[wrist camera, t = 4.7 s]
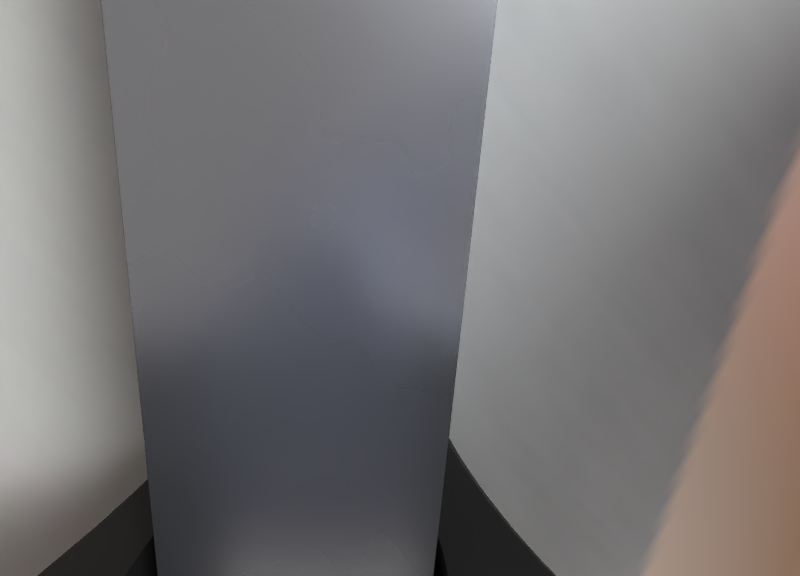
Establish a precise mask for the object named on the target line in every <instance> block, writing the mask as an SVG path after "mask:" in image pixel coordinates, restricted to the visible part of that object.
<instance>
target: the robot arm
mask: <svg viewBox="0 0 800 576" xmlns="http://www.w3.org/2000/svg"><path fill="white" fill-rule="evenodd" d="M38 576H158V573H157V563H156V553H155V543H154V533H153V522H152V512H151V502H150V492H149V482H148V480H147V481H145V482H144V483H143V484H142V485H141V486H140V487H139V488H138V489H137V490H136V491H135V492H134V493H133V494H132V495H130V496H129V497H128V498H127V499H126V500H125V501H124V502H123V503H122V504H121V505H120V506H118V507H117V508H116V509H115V510H114V511H113V512H112V513H111V514H110V515H109V516H107V517H106V518H105V519H104V520H103V521H102V522H101V523H100V524H99V525H98V526H96V527H95V528H94V529H93V530H92V531H90V532H89V533H88V534H87V535H86V536H84V537H83V538H82V539H81V540H80V541H79V542H77V543H76V544H75V545H74V546H73V547H71V548H70V549H69V550H68V551H67V552H65V553H64V554H63V555H62V556H61V557H59V558H58V559H57V560H56V561H55V562H53V563H52V564H51V565H50V566H49V567H48V568H46V569H45V570H44V571H43V572H42V573H40V574H39V575H38ZM433 576H556V575H555V574H554V573H553V572H552V571H551V570H550V569H549V568H548V567H547V566H546V565H545V564H544V563H543V562H542V561H541V560H540V559H539V557H538V556H537V555H536V554H535V553H534V552H533V551H532V550H531V549H530V547H529V546H528V545H527V544H526V543H525V542H524V541H523V540H522V538H521V537H520V536H519V535H518V534H517V533H516V532H515V530H514V529H513V528H512V527H511V526H510V524H509V523H508V522H507V521H506V520H505V518H504V517H503V516H502V515H501V513H500V512H499V511H498V509H497V508H496V507H495V506H494V504H493V503H492V502H491V500H490V499H489V498H488V497H487V495H486V494H485V493H484V491H483V490H482V489H481V487H480V486H479V484H478V483H477V482H476V480H475V479H474V477H473V476H472V474H471V473H470V471H469V470H468V469H467V467H466V465H465V464H464V462H463V461H462V459H461V458H460V456H459V454H458V453H457V451H456V449H455V448H454V446H453V444H452V442H451V441H450V439H448V448H447V457H446V466H445V475H444V484H443V493H442V502H441V511H440V520H439V529H438V538H437V547H436V556H435V565H434V574H433Z"/></svg>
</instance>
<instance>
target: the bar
mask: <svg viewBox="0 0 800 576" xmlns="http://www.w3.org/2000/svg"><path fill="white" fill-rule="evenodd" d="M101 6H102V16H103V26H104V36H105V46H106V57H107V67H108V77H109V87H110V97H111V107H112V117H113V127H114V138H115V148H116V158H117V168H118V178H119V188H120V198H121V209H122V219H123V229H124V239H125V249H126V259H127V269H128V279H129V290H130V300H131V310H132V320H133V330H134V340H135V350H136V360H137V371H138V381H139V391H140V401H141V411H142V421H143V431H144V441H145V452H146V462H147V472H148V482H149V492H150V502H151V512H152V522H153V533H154V543H155V553H156V563H157V573H158V576H433V574H434V565H435V556H436V547H437V538H438V529H439V520H440V511H441V502H442V493H443V484H444V475H445V466H446V457H447V448H448V439H449V430H450V421H451V412H452V403H453V394H454V385H455V376H456V368H457V359H458V350H459V341H460V332H461V323H462V314H463V305H464V296H465V287H466V278H467V269H468V260H469V251H470V242H471V233H472V224H473V215H474V206H475V197H476V188H477V179H478V170H479V161H480V152H481V143H482V135H483V126H484V117H485V108H486V99H487V90H488V81H489V72H490V63H491V54H492V45H493V36H494V27H495V18H496V9H497V0H101Z"/></svg>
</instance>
